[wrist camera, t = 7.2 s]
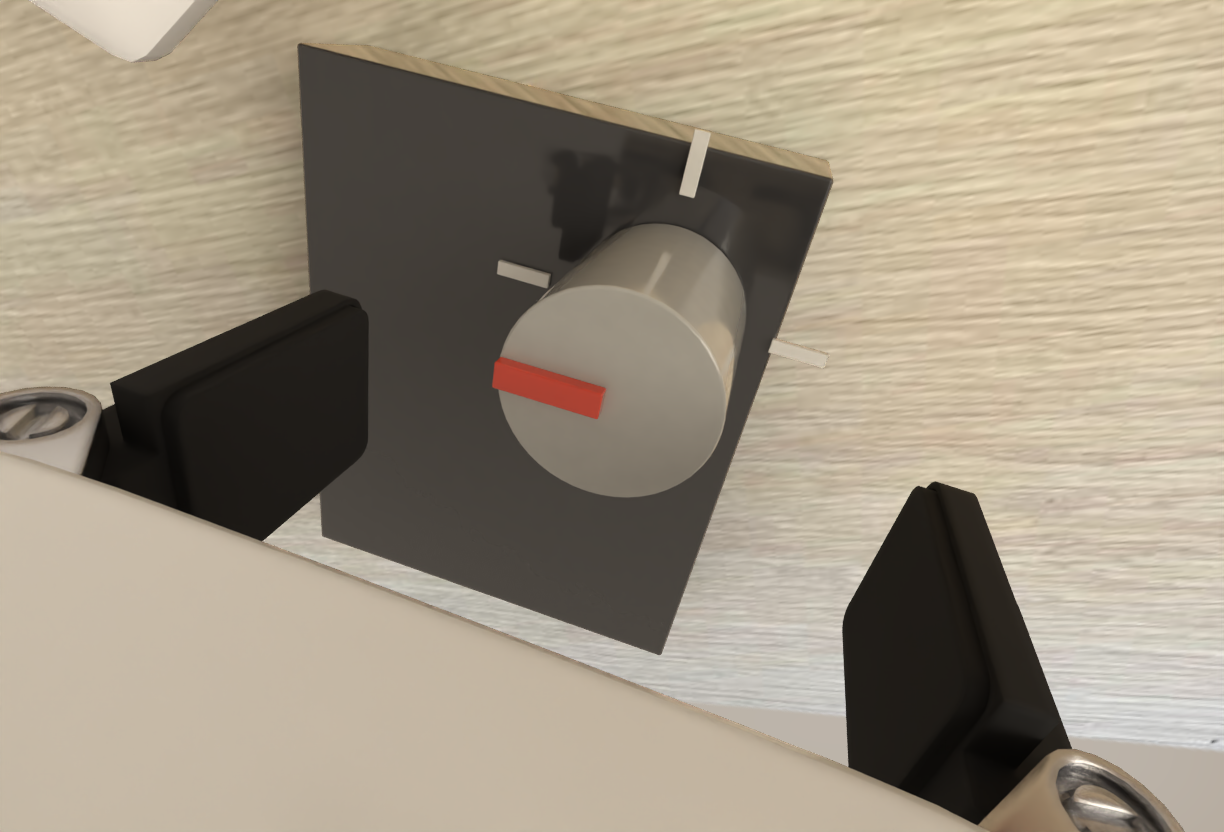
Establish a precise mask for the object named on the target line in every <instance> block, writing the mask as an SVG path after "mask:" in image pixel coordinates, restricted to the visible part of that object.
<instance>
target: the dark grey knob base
mask: <svg viewBox="0 0 1224 832" xmlns="http://www.w3.org/2000/svg"><path fill="white" fill-rule="evenodd" d="M297 48H298V68H299V88H300V108H301V128H302V148H303V168H304V188H305V207H306V227H307V247H308V267H309V287H310V294H313V293H315V292H317V291H320V290H324V289H325V290H329V291H332V292H335V293H338V294H341V295H345V296H348V297H351V298H354V299H357V300H358V301H359V302H360V305H361V307H362V310H364V311H365V312H366V313H367V315H368V319H369V367H368V443H367V447H366V449H365V451H364V453H363V455H362V456H361V457H360V458H359V459H358V460H357V461H356V462H355V463H354V464H353V465H351V466H350V467H349V468H348V469H347V470H346V471H344V472H343V473H342V474H341V475H340V476H338V477H337V478H336V479H335V480H334V481H333V482H331V483H330V484H329V485H328V486H327V487H326V488H324V489H323V490H322V491H321V492H320V506H321V526H322V536H323V537H326V538H329V539H331V540H334V541H337V542H340V543H343V544H346V545H348V546H351V547H354V548H357V549H360V550H363V551H365V552H368V553H371V554H374V555H377V556H380V557H382V558H385V559H388V560H391V561H394V562H397V563H399V564H402V565H405V566H408V567H411V568H414V569H416V570H419V571H422V572H425V573H428V574H431V575H433V576H436V577H439V578H442V579H445V580H448V581H450V582H453V583H456V584H459V585H462V586H465V587H467V588H470V589H473V590H476V591H479V592H482V593H484V594H487V595H490V596H493V597H496V598H499V599H501V600H504V601H507V602H510V603H513V604H516V605H518V606H521V607H524V608H527V609H530V610H533V611H535V612H538V613H541V614H544V615H547V616H550V617H552V618H555V619H558V620H561V621H564V622H567V623H569V624H572V625H575V626H578V627H581V628H584V629H586V630H589V631H592V632H595V633H598V634H601V635H603V636H606V637H609V638H612V639H615V640H618V641H620V642H623V643H626V644H629V645H632V646H635V647H637V648H640V649H643V650H646V651H649V652H652V653H655V654H657V655H661V654H662V651H663V649H664V646H665V643H666V640H667V638H668V635H669V632H670V629H671V627H672V624H673V621H674V618H675V616H676V613H677V610H678V607H679V605H680V602H681V599H682V596H683V594H684V591H685V588H686V585H687V583H688V580H689V577H690V575H691V572H692V569H693V566H694V564H695V561H696V558H697V555H698V553H699V550H700V547H701V544H702V542H703V539H704V536H705V533H706V531H707V528H708V525H709V522H710V520H711V517H712V514H713V511H714V509H715V506H716V503H717V500H718V498H719V495H720V492H721V489H722V487H723V484H724V481H725V478H726V476H727V473H728V470H729V467H730V465H731V462H732V459H733V456H734V454H735V451H736V448H737V445H738V443H739V440H740V437H741V434H742V432H743V429H744V426H745V423H746V421H747V418H748V415H749V412H750V410H751V407H752V404H753V401H754V399H755V396H756V393H757V390H758V388H759V385H760V382H761V379H762V377H763V374H764V371H765V369H766V366H767V363H768V360H769V358H770V355H771V353H772V354H775V355H779V356H782V357H785V358H789V359H792V360H796V361H799V362H803V363H806V364H810V365H813V366H817V367H820V368H824V367H825V365H826V362H827V360H828V358H829V354H828V353H825V352H822V351H818V350H815V349H811V348H808V347H804V346H801V345H797V344H794V343H790V342H787V341H783V340H780V339H776V338H777V336H778V333H779V330H780V327H781V325H782V322H783V319H784V316H785V314H786V311H787V308H788V305H789V303H790V300H791V297H792V294H793V292H794V289H795V286H796V283H797V281H798V278H799V275H800V272H801V270H802V267H803V264H804V261H805V259H806V256H807V253H808V250H809V248H810V245H811V242H812V239H813V237H814V234H815V231H816V228H817V226H818V223H819V220H820V217H821V215H822V212H823V209H824V206H825V204H826V201H827V198H828V195H829V193H830V190H831V187H832V184H833V177H832V173H831V169H830V165H829V162H828V161H827V160H824V159H820V158H816V157H812V156H808V155H804V154H800V153H796V152H792V151H788V150H784V149H780V148H776V147H772V146H768V145H764V144H760V143H756V142H752V141H748V140H744V139H740V138H736V137H732V136H728V135H724V134H720V133H716V132H712V131H708V130H704V129H700V128H696V127H692V126H688V125H684V124H680V123H676V122H672V121H668V120H664V119H660V118H656V117H652V116H648V115H644V114H640V113H636V112H632V111H628V110H624V109H620V108H616V107H612V106H608V105H604V104H600V103H596V102H592V101H588V100H584V99H580V98H576V97H572V96H568V95H564V94H561V93H557V92H553V91H549V90H545V89H541V88H537V87H533V86H529V85H525V84H521V83H517V82H513V81H509V80H505V79H501V78H497V77H493V76H489V75H485V74H481V73H477V72H473V71H469V70H465V69H461V68H457V67H453V66H449V65H445V64H441V63H437V62H433V61H429V60H425V59H421V58H417V57H413V56H409V55H405V54H401V53H397V52H393V51H389V50H385V49H381V48H377V47H373V46H369V45H345V44H316V43H299V44H298V46H297ZM653 223H656V224H669V225H674V226H679V227H682V228H685V229H688V230H690V231H692V232H694V233H697V234H699V235H701V236H702V237H704V238H705V239H707V240H708V241H710V242H711V243H712V244H714V245H715V246H716V247H717V248H718V249H719V250H720V251H721V252H722V253H723V254H724V255H725V256H726V257H727V259H728V260H729V261H730V263H731V264H732V266H733V267H734V269H735V270H736V273H737V275H738V277H739V279H740V281H741V284H742V287H743V290H744V294H745V300H746V313H747V316H746V325H745V330H744V335H743V340H742V344H741V349H740V354H739V358H738V363H737V368H736V373H735V377H734V382H733V387H732V391H731V396H730V401H729V405H728V410H727V415H726V419H725V423H724V427H723V431H722V435H721V437H720V439H719V442H718V444H717V446H716V448H715V450H714V451H713V453H712V454H711V456H710V458H709V459H708V460H707V461H706V462H705V464H704V465H703V466H702V467H701V468H700V469H699V470H698V471H697V472H696V473H694V474H693V475H692V476H691V477H689V478H688V479H686V480H685V481H683V482H682V483H680V484H678V485H676V486H674V487H672V488H670V489H668V490H665V491H662V492H659V493H656V494H652V495H647V496H642V497H628V498H627V497H611V496H605V495H599V494H595V493H592V492H588V491H585V490H582V489H580V488H577V487H574V486H572V485H570V484H568V483H566V482H564V481H562V480H561V479H559V478H558V477H556V476H554V475H553V474H551V473H550V472H548V471H547V470H546V469H545V468H543V467H542V466H541V465H540V464H538V463H537V462H536V461H535V460H534V459H533V458H532V457H531V456H530V455H529V454H528V452H527V451H526V450H525V449H524V448H523V446H522V445H521V444H520V443H519V441H518V439H517V438H516V436H515V435H514V433H513V432H512V430H511V428H510V426H509V424H508V422H507V420H506V417H505V414H504V412H503V409H502V405H501V401H500V397H499V389H495V388H493V387H492V382H493V373H494V364H495V362H496V361H497V360H498V359H499V358H500V354H501V351H502V348H503V345H504V342H505V340H506V338H507V336H508V334H509V332H510V330H511V329H512V327H513V326H514V324H515V323H516V322H517V320H518V319H519V318H520V317H521V316H522V315H523V314H524V313H525V312H526V311H527V310H528V309H529V308H530V307H531V306H532V305H533V304H534V303H535V302H536V301H538V300H539V299H540V298H541V297H542V296H543V295H544V294H545V293H546V292H548V291H549V290H550V289H551V288H552V287H553V286H554V285H555V284H556V283H557V282H559V281H560V280H561V279H562V278H563V277H564V276H565V275H566V274H567V273H568V272H570V271H571V270H572V269H573V268H574V267H575V266H576V265H577V264H578V263H579V262H581V261H582V260H583V259H584V258H585V257H586V256H587V255H588V254H589V253H590V252H592V251H593V250H594V249H595V248H596V247H597V246H598V245H599V244H600V243H602V242H603V241H604V240H606V239H607V238H608V237H610V236H612V235H613V234H615V233H617V232H619V231H621V230H624V229H627V228H629V227H633V226H637V225H642V224H653Z"/></svg>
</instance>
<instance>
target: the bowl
mask: <svg viewBox="0 0 1224 832" xmlns="http://www.w3.org/2000/svg"><path fill="white" fill-rule="evenodd" d="M29 1H30V2H32V3H34V4H35V5H37V6H38V7H40V8H41V9H43V10H44V11H46V12H47V13H49V14H50V15H52V16H53V17H55V18H56V19H58V20H59V21H61V22H63V23H64V24H66V25H67V26H69V27H70V28H72V29H73V30H75V31H76V32H78V33H79V34H81V35H82V36H84V37H85V38H87V39H88V40H90V41H92V42H93V43H95V44H96V45H98V46H99V47H101V48H102V49H104V50H105V51H107V52H108V53H110V54H111V55H113V56H116V57H119V58H121V59H124V60H127V61H129V62H143V61H155V60H158V59H160V58H162V57H164V56H166V55H168V54H170V53H171V52H172V51H173V50H174V49H175V48H176V47H177V45H178V44H179V43H180V42H181V41H182V40H183V39H184V38H185V37H186V35H187V34H188V33H189V32H190V31H191V30H192V29H193V28H194V27H195V25H196V24H197V23H198V22H199V21H200V20H201V19H202V18H203V17H204V15H205V14H206V13H207V12H208V11H209V10H210V9H211V8H212V7H213V5H214V4H215V3H216V2H217V1H218V0H29Z"/></svg>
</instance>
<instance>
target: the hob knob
mask: <svg viewBox="0 0 1224 832" xmlns="http://www.w3.org/2000/svg"><path fill="white" fill-rule="evenodd" d="M746 316H747V313H746V300H745V294H744V290H743V287H742V284H741V281H740V279H739V277H738V275H737V273H736V270H735V269H734V267H733V266H732V264H731V263H730V261H729V260H728V259H727V257H726V256H725V255H724V254H723V253H722V252H721V251H720V250H719V249H718V248H717V247H716V246H715V245H714V244H712V243H711V242H710V241H708V240H707V239H705V238H704V237H702V236H701V235H699V234H697V233H694V232H692V231H690V230H688V229H685V228H682V227H679V226H674V225H669V224H656V223H653V224H642V225H637V226H633V227H629V228H627V229H624V230H621V231H619V232H617V233H615V234H613V235H612V236H610V237H608V238H607V239H606V240H604V241H603V242H602V243H600V244H599V245H598V246H597V247H596V248H595V249H594V250H593V251H592V252H590V253H589V254H588V255H587V256H586V257H585V258H584V259H583V260H582V261H581V262H579V263H578V264H577V265H576V266H575V267H574V268H573V269H572V270H571V271H570V272H568V273H567V274H566V275H565V276H564V277H563V278H562V279H561V280H560V281H559V282H557V283H556V284H555V285H554V286H553V287H552V288H551V289H550V290H549V291H548V292H546V293H545V294H544V295H543V296H542V297H541V298H540V299H539V300H538V301H536V302H535V303H534V304H533V305H532V306H531V307H530V308H529V309H528V310H527V311H526V312H525V313H524V314H523V315H522V316H521V317H520V318H519V319H518V320H517V322H516V323H515V324H514V326H513V327H512V329H511V330H510V332H509V334H508V336H507V338H506V340H505V342H504V345H503V348H502V351H501V354H500V358H499V359H498V360H497V361H496V362H495V364H494V373H493V382H492V387H493V388H495V389H499V397H500V401H501V405H502V409H503V412H504V414H505V417H506V420H507V422H508V424H509V426H510V428H511V430H512V432H513V433H514V435H515V436H516V438H517V439H518V441H519V443H520V444H521V445H522V446H523V448H524V449H525V450H526V451H527V452H528V454H529V455H530V456H531V457H532V458H533V459H534V460H535V461H536V462H537V463H538V464H540V465H541V466H542V467H543V468H545V469H546V470H547V471H548V472H550V473H551V474H553V475H554V476H556V477H558V478H559V479H561V480H562V481H564V482H566V483H568V484H570V485H572V486H574V487H577V488H580V489H582V490H585V491H588V492H592V493H595V494H599V495H605V496H611V497H627V498H628V497H642V496H647V495H652V494H656V493H659V492H662V491H665V490H668V489H670V488H672V487H674V486H676V485H678V484H680V483H682V482H683V481H685V480H686V479H688V478H689V477H691V476H692V475H693V474H694V473H696V472H697V471H698V470H699V469H700V468H701V467H702V466H703V465H704V464H705V462H706V461H707V460H708V459H709V458H710V456H711V454H712V453H713V451H714V450H715V448H716V446H717V444H718V442H719V439H720V437H721V435H722V431H723V427H724V423H725V419H726V415H727V410H728V405H729V401H730V396H731V391H732V387H733V382H734V377H735V373H736V368H737V363H738V358H739V354H740V349H741V344H742V340H743V335H744V330H745V325H746Z"/></svg>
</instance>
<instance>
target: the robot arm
mask: <svg viewBox="0 0 1224 832" xmlns="http://www.w3.org/2000/svg"><path fill="white" fill-rule="evenodd" d="M368 367H369V319H368V315H367V313H366V312H365V311H364V310H362V307H361V305H360V302H359V301H358V300H357V299H354V298H351V297H348V296H345V295H341V294H338V293H335V292H332V291H329V290H325V289H324V290H320V291H317V292H315V293H313V294H310V295H308V296H306V297H304V298H301V299H299V300H297V301H295V302H292V303H290V304H288V305H286V306H283V307H281V308H279V309H277V310H274V311H272V312H270V313H267V314H265V315H263V316H261V317H258V318H256V319H254V320H252V321H249V322H247V323H245V324H243V325H240V326H238V327H236V328H234V329H231V330H229V331H227V332H224V333H222V334H220V335H218V336H215V337H213V338H211V339H209V340H206V341H204V342H202V343H200V344H197V345H195V346H193V347H191V348H188V349H186V350H184V351H181V352H179V353H177V354H175V355H172V356H170V357H168V358H166V359H163V360H161V361H159V362H157V363H154V364H152V365H150V366H148V367H145V368H143V369H141V370H138V371H136V372H134V373H132V374H129V375H127V376H125V377H123V378H120V379H118V380H116V381H114V382H111V383H110V385H111V389H112V393H113V398H114V402H115V404H114V405H112V406H110V407H108V408H106V409H103V410H102V406H101V403H100V402H99V401H98V399H97V398H96V397H95V396H94V395H91V394H89V393H87V392H85V391H82V390H77V389H72V388H67V387H35V388H24V389H19V390H14V391H9V392H4V393H1V394H0V832H1184V830H1183V828H1182V827H1181V825H1180V824H1179V823H1178V822H1177V820H1176V819H1175V818H1174V817H1173V815H1172V814H1171V813H1170V812H1169V810H1168V809H1167V808H1166V807H1165V805H1164V804H1163V803H1162V802H1161V801H1160V800H1158V799H1157V798H1156V797H1155V796H1154V795H1153V794H1152V793H1151V792H1150V791H1149V790H1148V789H1147V788H1146V787H1145V786H1144V785H1143V784H1141V783H1140V782H1139V781H1137V780H1136V779H1135V778H1133V777H1132V776H1130V775H1129V774H1128V773H1126V772H1125V771H1123V770H1122V769H1121V768H1119V767H1118V766H1116V765H1114V764H1112V763H1110V762H1108V761H1106V760H1104V759H1102V758H1100V757H1098V756H1096V755H1093V754H1090V753H1086V752H1083V751H1080V750H1077V749H1072V747H1071V745H1070V742H1069V739H1068V737H1067V734H1066V731H1065V729H1064V726H1063V723H1062V721H1061V718H1060V715H1059V713H1058V710H1057V707H1056V705H1055V702H1054V699H1053V697H1052V694H1051V692H1050V689H1049V686H1048V684H1047V681H1046V678H1045V676H1044V673H1043V670H1042V668H1041V665H1040V662H1039V660H1038V657H1037V654H1036V652H1035V649H1034V646H1033V644H1032V641H1031V638H1030V636H1029V633H1028V630H1027V628H1026V625H1025V622H1024V620H1023V617H1022V614H1021V612H1020V609H1019V606H1018V605H1017V603H1016V600H1015V598H1014V595H1013V592H1012V590H1011V587H1010V584H1009V582H1008V579H1007V576H1006V574H1005V571H1004V568H1003V566H1002V563H1001V560H1000V558H999V555H998V552H997V550H996V547H995V544H994V542H993V539H992V536H991V534H990V531H989V528H988V526H987V523H986V520H985V518H984V515H983V512H982V510H981V507H980V504H979V502H978V499H977V497H976V495H975V494H973V493H970V492H967V491H964V490H961V489H958V488H954V487H951V486H948V485H945V484H942V483H939V482H933V483H931V484H930V485H929V486H928V487H927V488H923V487H920V486H917V487H916V488H915V489H914V490H913V491H912V492H911V494H910V496H909V497H908V499H907V501H906V503H905V505H904V506H903V508H902V510H901V512H900V514H899V515H898V517H897V519H896V521H895V523H894V524H893V526H892V528H891V530H890V532H889V533H888V535H887V537H886V539H885V541H884V542H883V544H882V546H881V548H880V550H879V551H878V553H877V555H876V557H875V559H874V560H873V562H872V564H871V566H870V567H869V569H868V571H867V573H866V575H865V576H864V578H863V580H862V582H861V584H860V585H859V587H858V589H857V591H856V593H855V594H854V596H853V598H852V600H851V602H850V603H849V605H848V607H847V610H846V612H845V616H844V620H843V627H842V633H843V655H844V676H845V698H846V720H847V742H848V763H849V767H847V766H844V765H842V764H840V763H837V762H835V761H833V760H830V759H828V758H825V757H823V756H820V755H817V754H815V753H812V752H809V751H807V750H804V749H802V748H799V747H796V746H794V745H791V744H789V743H786V742H784V741H781V740H778V739H776V738H774V737H771V736H769V735H766V734H764V733H761V732H759V731H756V730H753V729H751V728H749V727H746V726H744V725H741V724H739V723H736V722H733V721H731V720H728V719H726V718H723V717H720V716H718V715H715V714H712V713H710V712H708V711H705V710H702V709H700V708H697V707H695V706H692V705H689V704H687V703H684V702H682V701H679V700H677V699H674V698H671V697H669V696H666V695H664V694H661V693H658V692H656V691H653V690H651V689H648V688H646V687H643V686H640V685H638V684H635V683H633V682H630V681H627V680H625V679H622V678H620V677H617V676H615V675H612V674H609V673H607V672H604V671H602V670H599V669H596V668H594V667H591V666H589V665H586V664H584V663H581V662H578V661H576V660H573V659H571V658H568V657H565V656H563V655H560V654H558V653H555V652H552V651H550V650H547V649H545V648H542V647H539V646H537V645H534V644H532V643H529V642H526V641H524V640H521V639H518V638H516V637H513V636H511V635H508V634H505V633H503V632H500V631H497V630H495V629H492V628H490V627H487V626H484V625H482V624H479V623H477V622H474V621H471V620H469V619H466V618H463V617H461V616H458V615H456V614H453V613H450V612H448V611H445V610H442V609H440V608H437V607H435V606H432V605H429V604H427V603H424V602H421V601H419V600H416V599H413V598H411V597H408V596H406V595H403V594H400V593H398V592H395V591H392V590H390V589H387V588H384V587H382V586H379V585H377V584H374V583H371V582H369V581H366V580H363V579H361V578H358V577H355V576H353V575H350V574H348V573H345V572H342V571H340V570H337V569H334V568H332V567H329V566H326V565H324V564H321V563H318V562H315V561H313V560H310V559H307V558H305V557H302V556H299V555H297V554H294V553H291V552H289V551H286V550H283V549H281V548H278V547H275V546H273V545H270V544H267V543H265V542H262V541H263V540H264V539H265V538H267V537H268V536H269V535H270V534H271V533H272V532H274V531H275V530H276V529H277V528H278V527H280V526H281V525H282V524H283V523H284V522H285V521H287V520H288V519H289V518H290V517H291V516H293V515H294V514H295V513H296V512H297V511H298V510H300V509H301V508H302V507H303V506H304V505H305V504H307V503H308V502H309V501H310V500H311V499H313V498H314V497H315V496H316V495H317V494H318V493H320V492H321V491H322V490H323V489H324V488H326V487H327V486H328V485H329V484H330V483H331V482H333V481H334V480H335V479H336V478H337V477H338V476H340V475H341V474H342V473H343V472H344V471H346V470H347V469H348V468H349V467H350V466H351V465H353V464H354V463H355V462H356V461H357V460H358V459H359V458H360V457H361V456H362V455H363V453H364V451H365V449H366V447H367V443H368Z"/></svg>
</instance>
